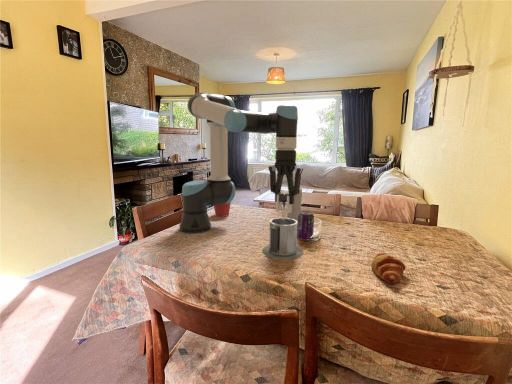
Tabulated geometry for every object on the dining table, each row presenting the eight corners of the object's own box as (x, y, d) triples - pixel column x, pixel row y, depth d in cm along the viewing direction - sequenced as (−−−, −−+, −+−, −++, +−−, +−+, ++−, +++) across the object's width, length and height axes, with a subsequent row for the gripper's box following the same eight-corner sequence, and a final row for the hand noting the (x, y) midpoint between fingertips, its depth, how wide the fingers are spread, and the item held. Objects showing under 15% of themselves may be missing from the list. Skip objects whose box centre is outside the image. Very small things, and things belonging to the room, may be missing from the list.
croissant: (373, 268, 106) (364, 249, 106) (400, 259, 102) (391, 239, 102) (382, 296, 85) (370, 272, 85) (416, 286, 82) (404, 261, 82)
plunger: (268, 242, 108) (269, 194, 104) (278, 237, 114) (280, 191, 111) (287, 247, 103) (289, 196, 100) (296, 241, 110) (298, 193, 106)
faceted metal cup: (260, 253, 106) (261, 223, 104) (277, 244, 117) (278, 216, 115) (286, 260, 100) (287, 228, 98) (301, 250, 111) (302, 220, 109)
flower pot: (210, 216, 161) (210, 200, 159) (216, 212, 171) (216, 196, 170) (228, 217, 159) (228, 201, 157) (233, 213, 170) (233, 197, 168)
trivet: (254, 254, 107) (254, 252, 107) (275, 242, 120) (275, 241, 120) (291, 265, 99) (291, 263, 98) (309, 251, 112) (310, 249, 111)
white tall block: (280, 220, 156) (281, 184, 152) (302, 224, 148) (304, 187, 144) (273, 223, 150) (274, 186, 147) (296, 227, 142) (298, 189, 139)
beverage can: (312, 241, 123) (314, 215, 120) (296, 240, 124) (297, 214, 122) (312, 236, 129) (314, 211, 127) (297, 235, 131) (298, 210, 129)
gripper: (261, 149, 104) (260, 210, 108) (302, 150, 95) (299, 217, 99) (271, 148, 110) (270, 206, 114) (311, 149, 101) (308, 213, 105)
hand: (283, 211), depth 107 cm, fingers closed on plunger, 4 cm apart
